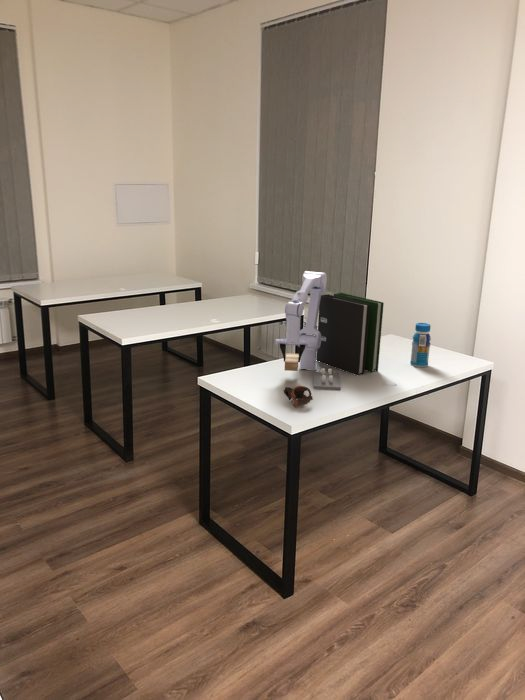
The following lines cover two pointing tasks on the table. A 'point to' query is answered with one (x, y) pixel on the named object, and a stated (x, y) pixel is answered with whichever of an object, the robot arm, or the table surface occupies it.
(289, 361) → the shelf board
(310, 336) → the robot arm
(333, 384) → the peg stand
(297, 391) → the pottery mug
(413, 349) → the beverage bottle
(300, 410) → the table surface
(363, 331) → the binder
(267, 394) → the table surface
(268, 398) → the table surface
